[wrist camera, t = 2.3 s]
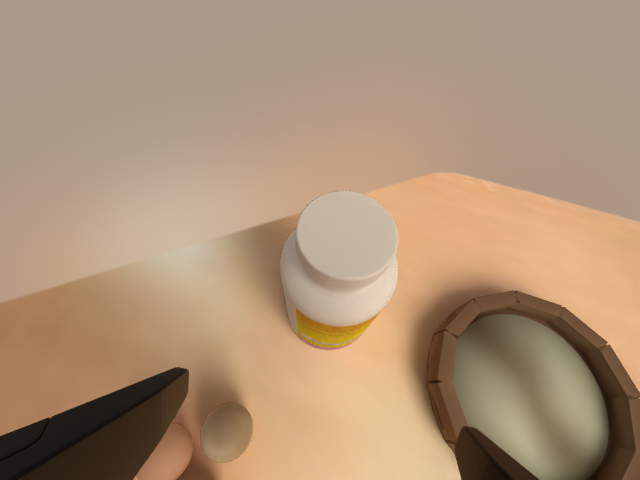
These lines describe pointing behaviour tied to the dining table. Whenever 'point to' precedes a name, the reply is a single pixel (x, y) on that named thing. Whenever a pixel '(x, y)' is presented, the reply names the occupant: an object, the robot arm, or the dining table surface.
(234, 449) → the bead maple
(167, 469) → the pinkish tan ball
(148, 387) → the robot arm
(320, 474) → the dining table surface
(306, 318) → the supplement bottle
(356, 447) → the dining table surface
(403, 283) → the dining table surface
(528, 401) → the faceted wooden bowl
